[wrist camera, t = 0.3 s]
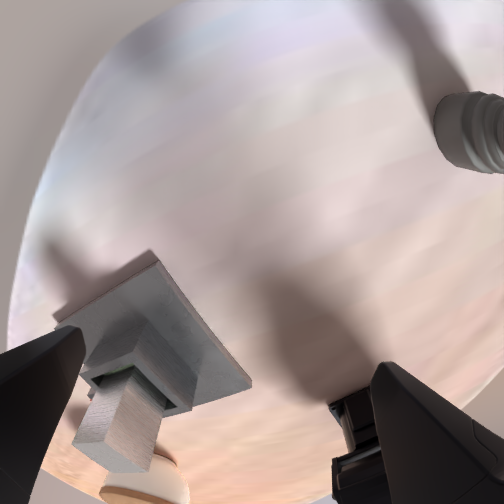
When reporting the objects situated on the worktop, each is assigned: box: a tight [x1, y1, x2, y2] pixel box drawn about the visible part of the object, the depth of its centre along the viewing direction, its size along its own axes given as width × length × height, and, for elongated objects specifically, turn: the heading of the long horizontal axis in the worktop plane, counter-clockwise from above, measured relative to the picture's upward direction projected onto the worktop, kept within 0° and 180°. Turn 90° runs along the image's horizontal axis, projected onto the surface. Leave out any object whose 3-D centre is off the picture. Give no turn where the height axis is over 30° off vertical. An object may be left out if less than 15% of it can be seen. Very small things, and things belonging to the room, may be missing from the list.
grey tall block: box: [72, 363, 167, 473], centre depth 19 cm, size 4×5×10 cm
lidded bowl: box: [99, 453, 190, 504], centre depth 28 cm, size 13×13×11 cm
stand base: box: [54, 260, 252, 418], centre depth 22 cm, size 14×14×5 cm
